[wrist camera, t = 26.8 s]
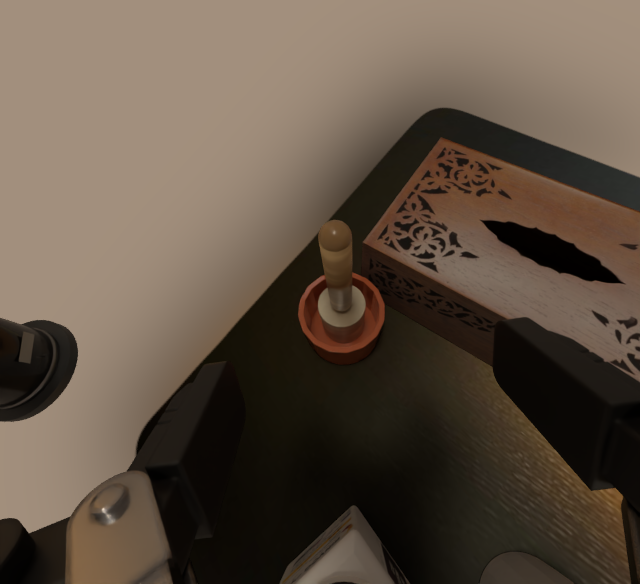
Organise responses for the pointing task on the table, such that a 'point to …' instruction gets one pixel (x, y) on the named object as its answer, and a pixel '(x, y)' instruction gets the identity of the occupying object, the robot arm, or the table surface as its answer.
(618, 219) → the tissue box cover
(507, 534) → the table surface
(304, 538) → the table surface
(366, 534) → the container
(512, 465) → the table surface
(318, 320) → the brush holder
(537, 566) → the white plastic bottle
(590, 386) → the robot arm
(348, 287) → the tan piece
